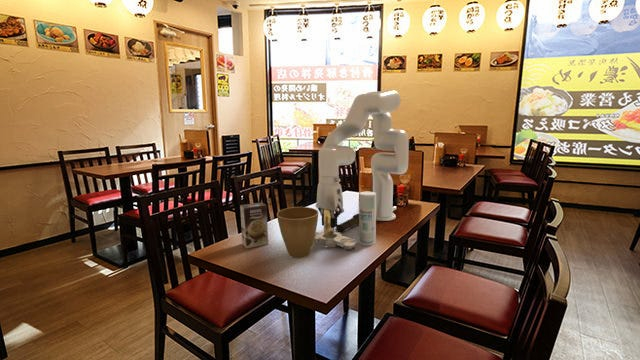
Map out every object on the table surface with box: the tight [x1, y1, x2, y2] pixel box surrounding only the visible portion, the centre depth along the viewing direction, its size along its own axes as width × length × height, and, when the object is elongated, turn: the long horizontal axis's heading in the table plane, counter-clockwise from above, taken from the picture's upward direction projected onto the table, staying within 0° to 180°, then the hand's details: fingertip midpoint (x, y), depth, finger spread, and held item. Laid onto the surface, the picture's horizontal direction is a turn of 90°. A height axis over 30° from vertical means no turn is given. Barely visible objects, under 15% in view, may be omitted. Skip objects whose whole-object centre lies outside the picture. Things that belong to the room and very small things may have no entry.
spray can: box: [358, 190, 377, 246], centre depth 137 cm, size 6×6×20 cm
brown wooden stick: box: [335, 213, 359, 234], centre depth 158 cm, size 19×4×5 cm, turn 142°
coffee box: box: [239, 202, 269, 249], centre depth 139 cm, size 9×6×16 cm
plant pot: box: [276, 206, 319, 259], centre depth 128 cm, size 15×15×16 cm
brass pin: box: [323, 209, 335, 236], centre depth 138 cm, size 4×4×10 cm
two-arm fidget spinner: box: [313, 231, 357, 251], centre depth 140 cm, size 9×24×3 cm, turn 47°
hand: (329, 225), depth 138 cm, fingers closed on brass pin, 4 cm apart
